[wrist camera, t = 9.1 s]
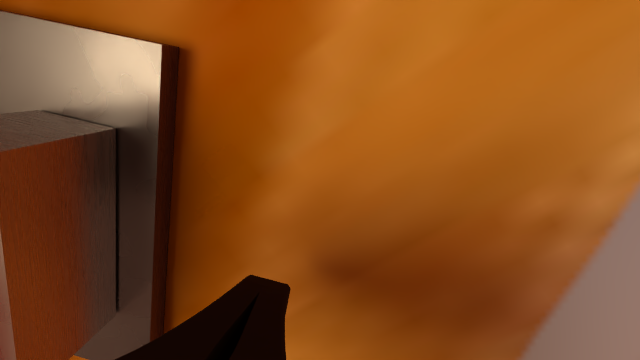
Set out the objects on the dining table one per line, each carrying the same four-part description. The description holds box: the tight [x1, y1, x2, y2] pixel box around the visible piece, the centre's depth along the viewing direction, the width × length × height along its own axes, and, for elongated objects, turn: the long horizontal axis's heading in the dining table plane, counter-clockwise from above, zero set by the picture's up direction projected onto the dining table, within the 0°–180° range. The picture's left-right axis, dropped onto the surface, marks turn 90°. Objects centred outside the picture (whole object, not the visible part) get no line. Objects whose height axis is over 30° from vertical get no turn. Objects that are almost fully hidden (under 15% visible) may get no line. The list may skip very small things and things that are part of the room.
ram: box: [0, 110, 116, 360], centre depth 11 cm, size 9×3×5 cm, turn 170°
